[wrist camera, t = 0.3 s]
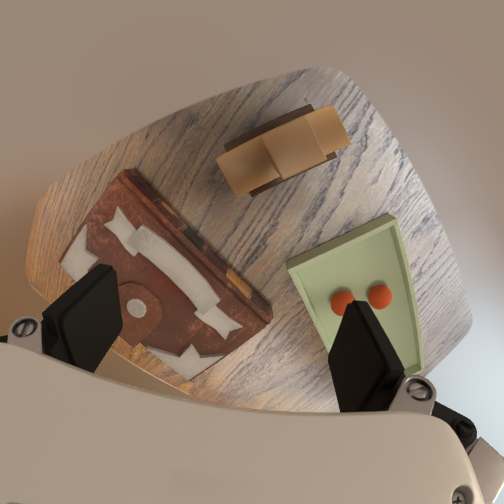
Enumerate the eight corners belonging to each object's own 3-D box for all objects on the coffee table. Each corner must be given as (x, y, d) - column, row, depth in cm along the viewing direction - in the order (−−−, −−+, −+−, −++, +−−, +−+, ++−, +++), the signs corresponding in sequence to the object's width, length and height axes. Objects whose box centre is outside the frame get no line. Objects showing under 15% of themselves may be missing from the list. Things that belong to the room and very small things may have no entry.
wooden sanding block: (222, 157, 21) (192, 162, 12) (322, 110, 19) (361, 85, 11) (240, 191, 22) (224, 219, 13) (339, 144, 20) (387, 142, 12)
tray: (285, 261, 31) (287, 270, 28) (387, 212, 28) (396, 218, 26) (349, 393, 39) (352, 404, 37) (419, 360, 36) (424, 370, 34)
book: (271, 302, 34) (275, 324, 29) (190, 365, 37) (184, 388, 32) (136, 168, 28) (118, 169, 23) (72, 255, 31) (51, 268, 26)
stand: (231, 146, 26) (223, 144, 21) (301, 113, 25) (310, 103, 19) (254, 188, 28) (251, 197, 22) (322, 155, 26) (337, 157, 21)
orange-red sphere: (324, 292, 31) (330, 306, 29) (347, 282, 31) (354, 294, 28) (332, 311, 32) (338, 325, 29) (354, 301, 32) (361, 314, 29)
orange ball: (362, 286, 31) (370, 299, 28) (383, 276, 30) (393, 287, 28) (368, 305, 32) (375, 318, 29) (388, 295, 31) (397, 307, 28)
